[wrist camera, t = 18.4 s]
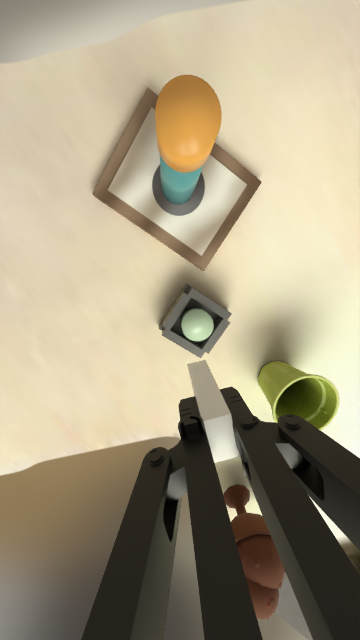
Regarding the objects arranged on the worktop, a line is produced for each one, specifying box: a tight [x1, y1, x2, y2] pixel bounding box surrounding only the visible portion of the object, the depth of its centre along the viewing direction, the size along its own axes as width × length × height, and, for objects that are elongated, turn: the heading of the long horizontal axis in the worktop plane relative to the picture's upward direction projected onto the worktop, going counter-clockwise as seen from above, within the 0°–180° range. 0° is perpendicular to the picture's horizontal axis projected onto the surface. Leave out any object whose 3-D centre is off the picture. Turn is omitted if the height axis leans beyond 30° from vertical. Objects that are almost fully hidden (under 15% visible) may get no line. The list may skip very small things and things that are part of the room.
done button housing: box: [159, 284, 232, 358], centre depth 32 cm, size 8×8×4 cm
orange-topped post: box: [155, 75, 221, 205], centre depth 21 cm, size 5×5×13 cm
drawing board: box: [92, 88, 261, 271], centre depth 29 cm, size 18×14×2 cm
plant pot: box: [258, 361, 339, 430], centre depth 33 cm, size 9×9×9 cm
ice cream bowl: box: [224, 485, 285, 619], centre depth 35 cm, size 11×11×15 cm
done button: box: [181, 307, 214, 341], centre depth 31 cm, size 4×4×3 cm
